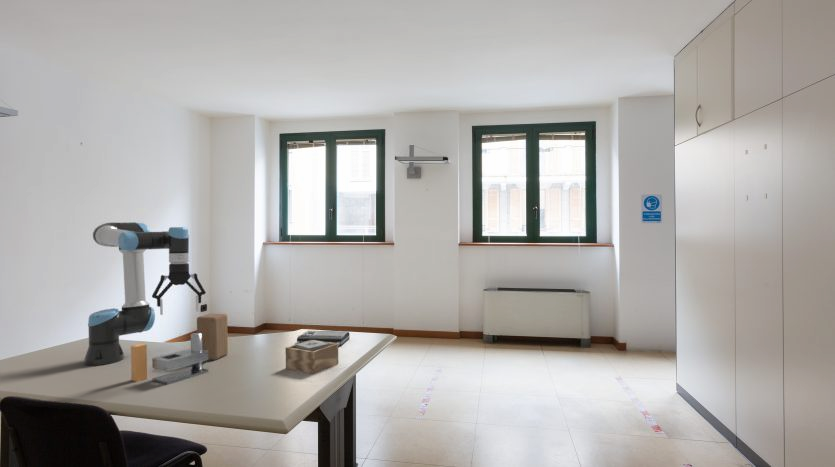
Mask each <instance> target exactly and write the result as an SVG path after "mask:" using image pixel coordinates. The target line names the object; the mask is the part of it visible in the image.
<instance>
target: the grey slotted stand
mask: <svg viewBox="0 0 835 467" xmlns="http://www.w3.org/2000/svg"><path fill="white" fill-rule="evenodd" d="M205 361H209V360H208V350H203V349H202V333H197V332H193V333H191V334H190V348H186V349H183V350H180V351H179V350H178V351H174V352H171V353H168V354H164V355H159V356H156V357H152V362H151V363H152V367H151V368H152V369H156V370H159V371H163V372H166V373H167V372H170V371H174V370H177V371H174V372H170V373H167V374H163V375H159V376H156V377H152V381H154V382H157V383H161V384H165V385H170V384H173V383H177V382H179V381H183V380H185V379H189V378H193V377H195V376H198V375H201V374H206V373H207V372H208V373H209V369H207V368H203V362H205ZM188 366H190V367H188ZM185 367H187V368H185ZM180 368H181V370H180ZM182 368H183V369H182ZM178 369H179V370H178Z"/></svg>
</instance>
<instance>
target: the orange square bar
mask: <svg viewBox="0 0 835 467" xmlns="http://www.w3.org/2000/svg"><path fill="white" fill-rule="evenodd" d="M147 345H148V344H146V343H145V344H144V343H136V344H133V345H130V362H131V363H130V367H131V368H130V369H131V372H130V375H131V378H130V380H131V381H132V382H140V381H141V382H142V381H144V380H147V379H148V363H147V362H148V357H147V356H148V354H147V353H148V351H147V350H148V348H147Z"/></svg>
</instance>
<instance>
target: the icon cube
mask: <svg viewBox="0 0 835 467" xmlns="http://www.w3.org/2000/svg"><path fill="white" fill-rule="evenodd" d="M325 347H328V343H324V342H320V341H317V340H313V341H309V342H304V343H300V344H296V349H301V350H307V351H316V350H319V349H322V348H325Z"/></svg>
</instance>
